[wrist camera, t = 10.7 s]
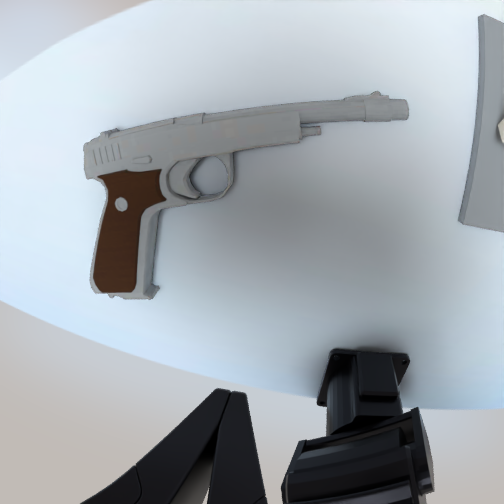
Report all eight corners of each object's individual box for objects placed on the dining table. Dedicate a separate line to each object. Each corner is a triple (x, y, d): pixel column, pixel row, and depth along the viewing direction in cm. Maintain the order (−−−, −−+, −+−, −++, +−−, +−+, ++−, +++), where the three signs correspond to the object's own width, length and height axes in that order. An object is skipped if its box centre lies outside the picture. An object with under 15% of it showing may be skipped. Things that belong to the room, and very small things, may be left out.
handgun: (407, 291, 19) (411, 91, 14) (92, 303, 23) (43, 151, 18) (398, 271, 21) (397, 92, 16) (106, 286, 25) (65, 144, 20)
